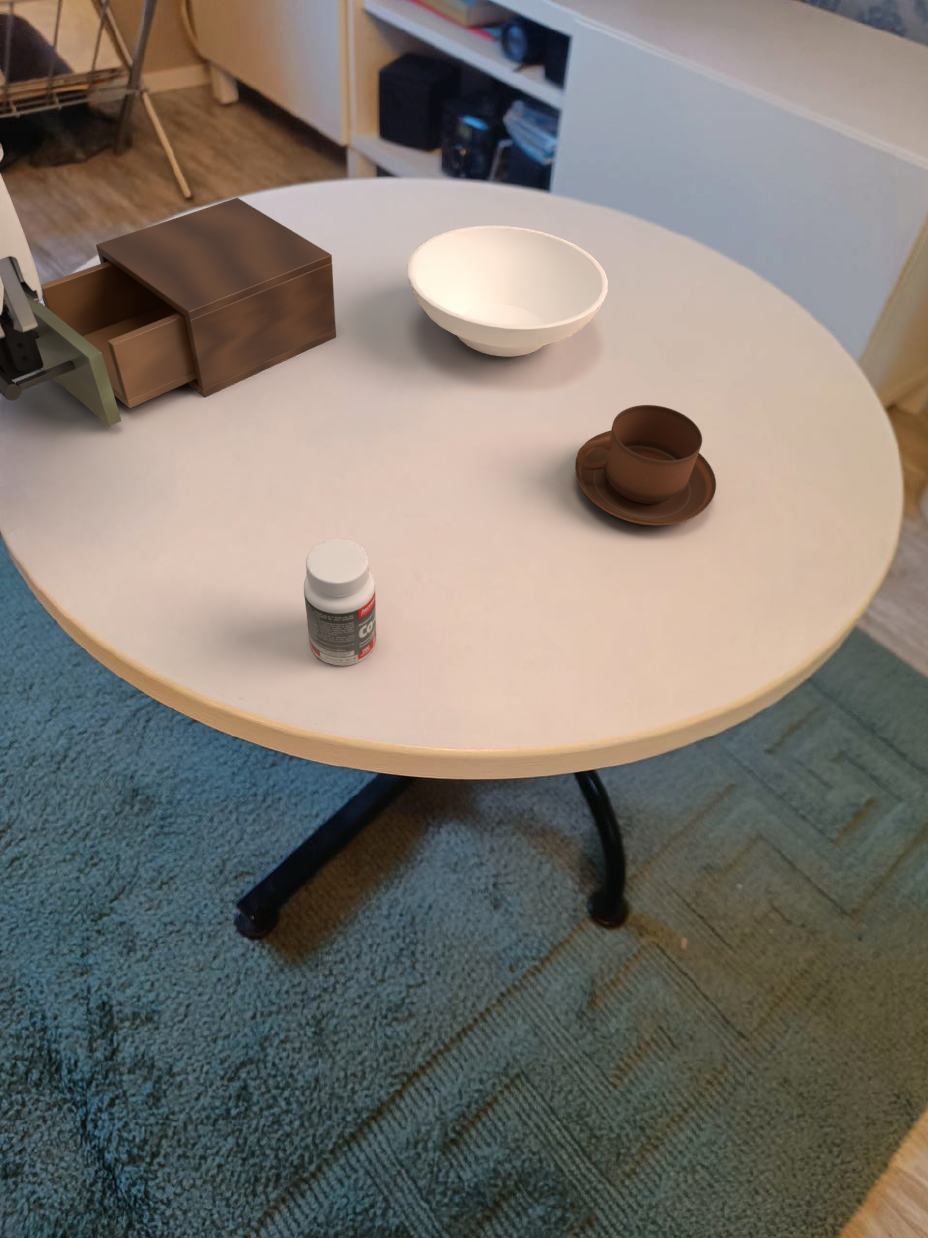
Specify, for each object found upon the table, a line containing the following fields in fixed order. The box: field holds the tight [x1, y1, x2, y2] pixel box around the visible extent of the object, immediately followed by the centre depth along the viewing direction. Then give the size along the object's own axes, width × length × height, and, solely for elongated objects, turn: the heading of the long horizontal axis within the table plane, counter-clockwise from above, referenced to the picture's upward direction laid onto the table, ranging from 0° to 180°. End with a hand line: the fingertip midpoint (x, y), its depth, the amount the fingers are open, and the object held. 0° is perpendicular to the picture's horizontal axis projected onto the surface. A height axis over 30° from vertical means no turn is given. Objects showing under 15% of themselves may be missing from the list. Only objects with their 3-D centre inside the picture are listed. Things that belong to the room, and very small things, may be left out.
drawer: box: [0, 261, 197, 427], centre depth 77 cm, size 21×13×7 cm, turn 136°
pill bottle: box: [303, 538, 377, 667], centre depth 59 cm, size 5×5×8 cm
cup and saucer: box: [574, 404, 717, 526], centre depth 73 cm, size 12×12×6 cm
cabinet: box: [95, 197, 337, 398], centre depth 83 cm, size 16×15×9 cm
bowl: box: [407, 224, 609, 358], centre depth 86 cm, size 20×20×7 cm
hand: (21, 369), depth 73 cm, fingers closed
